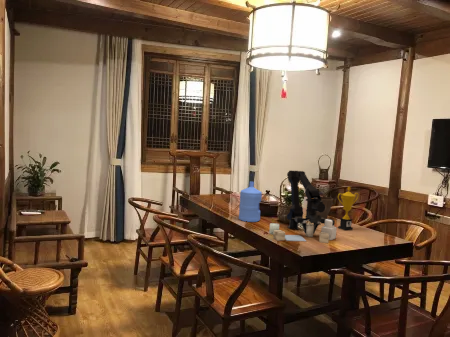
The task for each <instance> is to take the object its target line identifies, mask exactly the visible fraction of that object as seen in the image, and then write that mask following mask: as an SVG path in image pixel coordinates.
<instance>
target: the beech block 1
mask: <svg viewBox="0 0 450 337" xmlns="http://www.w3.org/2000/svg"><path fill="white" fill-rule="evenodd" d="M285 235H286V232H285V231H284V230H281V229H279V230H274V234H273V235H272V236H273V237H272V238H273V240H276V241H277V242H279V241H286V239H285Z"/></svg>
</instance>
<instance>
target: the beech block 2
mask: <svg viewBox="0 0 450 337" xmlns="http://www.w3.org/2000/svg"><path fill="white" fill-rule="evenodd" d="M318 235H319V237H318V241H319V243H322V244H323V243H324V244H329V241H330V240H329V234H328V233H323V232H321V231H320V232H319V234H318Z"/></svg>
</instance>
